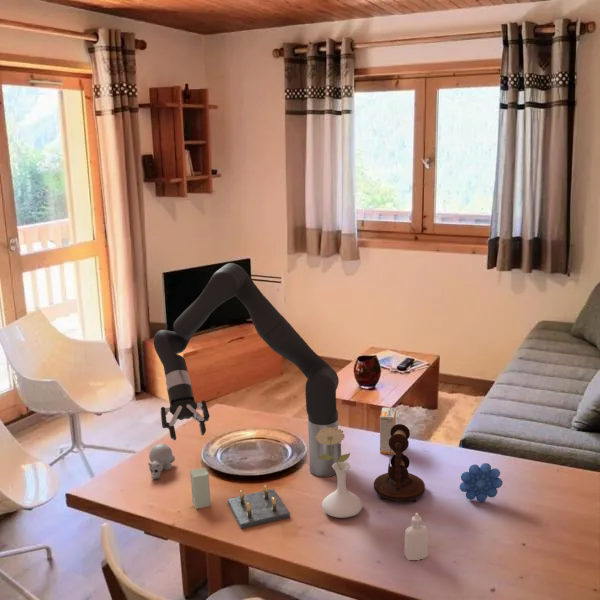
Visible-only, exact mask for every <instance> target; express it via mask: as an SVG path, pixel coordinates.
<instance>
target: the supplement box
mask: <svg viewBox="0 0 600 600" xmlns="http://www.w3.org/2000/svg"><path fill="white" fill-rule="evenodd" d="M396 411H397V408H396V407H382V408H381V411H380V416H379V454H382V455H383V454H385V455H386V454H387V455H390V446H389V439H390V437H391V434H390V431H391V428H392V427H393V426H394V425H396V423H397V412H396ZM394 454H395V453H394V451H393V450H392V449H391V455H394Z"/></svg>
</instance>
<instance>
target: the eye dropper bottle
mask: <svg viewBox="0 0 600 600" xmlns="http://www.w3.org/2000/svg"><path fill="white" fill-rule="evenodd" d="M422 519H423V518H422V517H421V516H420V515H419V513H418V512H415V514H414V516H412V517H411V525H409V526H408V527H407V528H405V531H404V557H405V558H406V559H407V561H410V560H417V561H421V560H420V559H422V560H424V559H426V558H427V557H428V555H429V530H428V528H427V526H425V525H423V524H422V523H423V521H422Z"/></svg>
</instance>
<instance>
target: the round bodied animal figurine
mask: <svg viewBox="0 0 600 600" xmlns="http://www.w3.org/2000/svg"><path fill="white" fill-rule="evenodd" d="M148 457H149V460H150V462H148V464H147V465H148V468H149V471H150V473H151V474H150V476H151V478H152V479H153V480H157V479H159V478H161V473H162V471H163V470H165V471H167V472H168V471H170V470H172V468H173V465H172V463H173V462H175V460H176V457H175V455H174V454H173V451H172V448H171V447H170V446H169V445H168V444H167V443H156V444H155V445H154V446H152V447H151V448H150V451H149V456H148Z"/></svg>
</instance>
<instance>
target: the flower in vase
mask: <svg viewBox="0 0 600 600" xmlns="http://www.w3.org/2000/svg"><path fill="white" fill-rule="evenodd" d="M343 432H344V431H343V430H342V429H340V428H338V430H336V427H334V428H331V427H329V428H324V430H320V431H319V432H318V433H317V436H315V438H316V440H317V441H318V442H319V443H321V444H326V445H330V446H331V455H332V445H333V444H337V443H342V442H343V441H344V439H345V434H344V433H343ZM350 456H351V453H350V452H349V453H346V454H345V453H344V454H341V456H340V458H339V459H338V462H337V461H336V459H335V458H334V457H333V455H332V456H330V455H326V454H325V455H321V456H320V457H319V458H318V459H322V460H330V459H331V458H332V457H333V459H334V460H335V461H336V463H334V464H333V465H332V467H333V469H334V470H335V471H336V474H335V475H336V478H337V488H336V489H335V490H334V491H333V492H331V493H330V494H328V495H327V496H325V497H324V499H323V501H322V502H321V509H322V510H323V512H324V513H325V514H327V515H328V516H331V517H334V518H341V519H343V518H344V519H345V518H351V517H354V516H356V515H358V514H359V513H360V512H361V511H362V509H363V502H362V499H360V497H358V496H357V495H356V494H354V493H353V492H351V491H349V490H348V488H347V487H346V486H347V483H346V481H347V475H348V471H349V470H350V468H351V464H350V463H349V462H346V461H347V460H348V459H349V458H350Z"/></svg>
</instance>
